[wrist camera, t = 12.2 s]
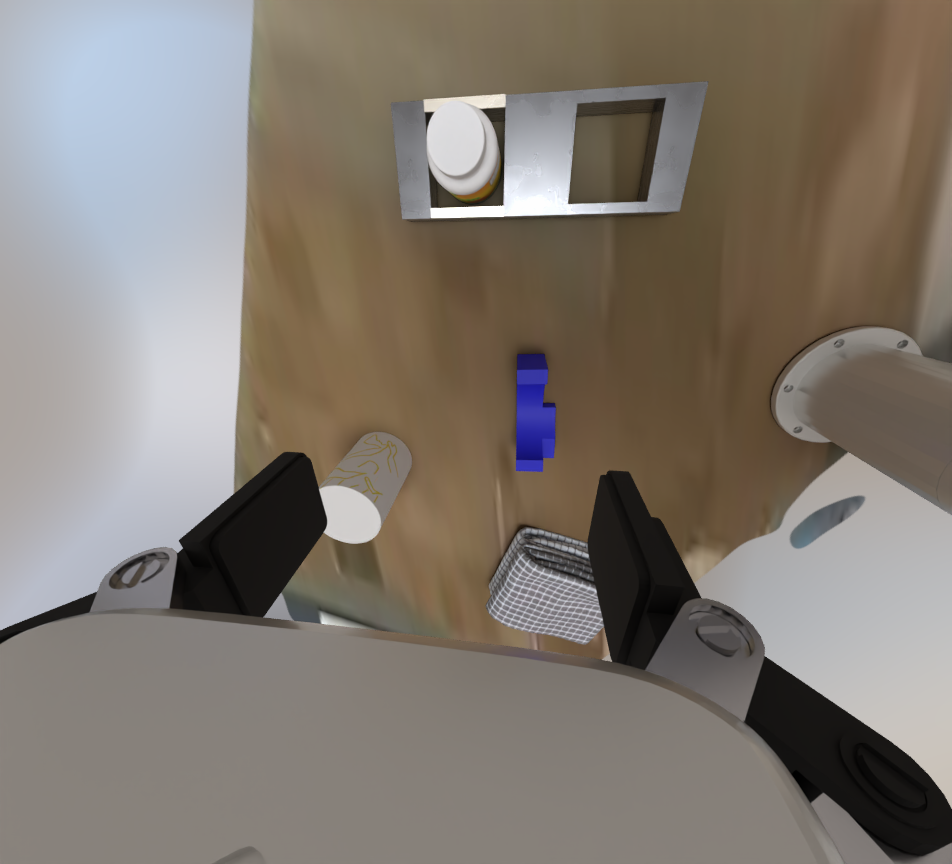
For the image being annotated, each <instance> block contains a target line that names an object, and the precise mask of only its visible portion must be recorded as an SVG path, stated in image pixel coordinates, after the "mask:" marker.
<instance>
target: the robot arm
mask: <svg viewBox="0 0 952 864" xmlns="http://www.w3.org/2000/svg"><path fill="white" fill-rule="evenodd" d="M771 410H772V414H773V417H774V419H775V420H776V422H777V424H778V425H779V426H780V427H781V428H782V429H783V430H784V431H786V432H787V433H789V434H790V435H792V436H794V437H796V438H799V439H801V440H805V441H810V442H822V443H825V442H833V443H835V444H836V445H838V446H840V447H841V448H843V449H845V450H846V451H848V452H849V453H851V454H853V455H854V456H856V457H858V458H859V459H861V460H862V461H864V462H866V463H867V464H869V465H871V466H872V467H874V468H876V469H877V470H879V471H880V472H882V473H884V474H885V475H887V476H889V477H890V478H892V479H893V480H895V481H897V482H898V483H900V484H902V485H904V486H905V487H907V488H908V489H910V490H912V491H913V492H915V493H916V494H918V495H920V496H921V497H923V498H924V499H926V500H928V501H930V502H931V503H933V504H934V505H936V506H938V507H939V508H941V509H942V510H944V511H946V512H947V513H949V514H951V515H952V364H951V363H947V362H944V361H940V360H936V359H932V358H928V357H924V356H923V355H922V352H921V350H920V347H919V346H918V344H917V343H916V342H915V341H914V340H913V339H912V338H911V337H909V336H908V335H906V334H905V333H903V332H900V331H897V330H894V329H890V328H884V327H879V326H861V327H855V328H849V329H846V330H842V331H839V332H836V333H833V334H831V335H829V336H827V337H824V338H822V339H820V340H818V341H817V342H815V343H814V344H812V345H810V346H809V347H807V348H806V349H805V350H803V351H802V352H801V353H800V354H798V355H797V356H796V357H795V358H794V359H793V360H792V361H791V362H790V363H789V364H788V365H787V366H786V368H785V369H784V371H783V372H782V373H781V375H780V376H779V378H778V380H777V382H776V384H775V386H774V389H773V393H772V397H771ZM326 527H327V516H326V513H325V509H324V505H323V502H322V498H321V495H320V491H319V487H318V484H317V480H316V477H315V473H314V469H313V466H312V462H311V460H310V458H308V457H307V456H306V455H305V454H304V453H298V452H284V453H282V454H281V455H280V456H279V457H277V458H276V459H275V460H274V461H273V462H271V463H270V464H269V465H268V466H267V467H266V468H264V469H263V470H262V471H261V472H260V473H258V474H257V475H256V476H255V477H254V478H252V479H251V480H250V481H249V482H248V483H246V484H245V485H244V486H243V487H242V488H241V489H239V490H238V491H237V492H236V493H235V494H233V495H232V496H231V497H230V498H229V499H227V500H226V501H225V502H224V503H223V504H221V505H220V506H219V507H218V508H217V509H216V510H214V511H213V512H212V513H211V514H210V515H209V516H207V517H206V518H205V519H204V520H203V521H201V522H200V523H199V524H198V525H197V526H195V527H194V528H193V529H192V530H191V531H190V532H188V533H187V534H186V535H185V536H183V537H182V538H181V539H180V540H179V542H180V544H181V545H182V547H183V549H182V550H181V551H180V552H179V553H177V552H176V551H175V550H173V549H172V548H167V547H161V548H154V549H150V550H146V551H144V552H141V553H138V554H136V555H134V556H132V557H130V558H128V559H126V560H124V561H123V562H121V563H120V564H118V565H117V566H116V567H114V568H113V569H112V570H111V571H110V572H109V573H108V574H107V575H106V576H105V577H104V579H103V580H102V582H101V584H100V586H99V589H98V591H97V592H95V593H93V594H90V595H88V596H85V597H83V598H80V599H78V600H75V601H72V602H70V603H68V604H65V605H62V606H60V607H57V608H55V609H52V610H50V611H47V612H45V613H42V614H40V615H37V616H34V617H32V618H29V619H27V620H24V621H22V622H19V623H17V624H14V625H12V626H9V627H7V628H5V629H3V630H0V864H952V809H951V807H950V805H949V803H948V801H947V799H946V798H945V796H944V794H943V793H942V791H941V790H940V789H939V788H938V786H937V785H936V784H935V782H934V781H933V780H932V778H931V777H930V776H929V775H928V774H927V773H926V772H925V771H924V770H923V769H922V768H921V767H920V766H919V765H918V764H917V763H916V762H915V761H914V760H913V759H912V758H911V757H910V756H909V755H907V754H906V753H905V752H903V751H902V750H901V749H899V748H898V747H897V746H896V745H894V744H893V743H892V742H890V741H889V740H887V739H886V738H885V737H883V736H882V735H880V734H878V733H877V732H876V731H874V730H873V729H871V728H870V727H868V726H867V725H865V724H864V723H862V722H861V721H860V720H858V719H856V718H855V717H854V716H852V715H851V714H849V713H848V712H846V711H845V710H843V709H842V708H840V707H839V706H837V705H836V704H835V703H833V702H831V701H830V700H828V699H827V698H826V697H824V696H823V695H821V694H820V693H818V692H817V691H815V690H814V689H812V688H811V687H809V686H808V685H806V684H805V683H803V682H802V681H801V680H799V679H798V678H796V677H795V676H793V675H792V674H790V673H789V672H787V671H786V670H784V669H783V668H781V667H780V666H779V665H777V664H776V663H774V662H773V661H771V660H770V659H768V658H767V657H765V656H764V654H765V647H764V644H763V641H762V639H761V636H760V635H759V633H758V632H757V631H756V629H755V628H754V626H753V625H752V624H751V623H750V622H749V621H748V620H747V619H746V618H745V617H743V616H742V615H741V614H739V613H738V612H737V611H735V610H734V609H732V608H731V607H729V606H727V605H724V604H722V603H720V602H717V601H714V600H710V599H702V598H701V596H700V594H699V592H698V590H697V588H696V586H695V584H694V583H693V581H692V579H691V577H690V575H689V573H688V571H687V569H686V567H685V565H684V563H683V561H682V559H681V557H680V555H679V553H678V552H677V550H676V548H675V546H674V544H673V542H672V540H671V538H670V536H669V534H668V532H667V530H666V528H665V526H664V524H663V523H662V521H661V520H660V519H659V518H655V517H651V516H650V514H649V512H648V510H647V508H646V506H645V503H644V501H643V499H642V497H641V495H640V493H639V491H638V489H637V487H636V485H635V483H634V481H633V479H632V477H631V475H630V473H629V472H626V471H608V472H607V474H606V475H601V476H600V480H599V485H598V490H597V495H596V500H595V505H594V511H593V516H592V521H591V526H590V531H589V536H588V544H587V547H588V555H589V559H590V564H591V568H592V573H593V578H594V582H595V587H596V591H597V596H598V601H599V605H600V610H601V614H602V619H603V624H604V628H605V633H606V637H607V642H608V647H609V651H610V656H611V659H612V662H609V661H604V660H599V659H593V658H588V657H583V656H575V655H568V654H561V653H554V652H547V651H540V650H532V649H525V648H518V647H510V646H502V645H494V644H485V643H477V642H469V641H461V640H453V639H444V638H436V637H428V636H420V635H411V634H403V633H394V632H386V631H377V630H369V629H360V628H351V627H343V626H334V625H325V624H317V623H308V622H299V621H289V620H281V619H271V618H263V617H264V616H265V614H266V613H267V611H268V610H269V609H270V607H271V606H272V604H273V603H274V601H275V600H276V599H277V597H278V596H279V594H280V593H281V592H282V590H283V589H284V587H285V586H286V585H287V583H288V582H289V580H290V579H291V578H292V576H293V575H294V573H295V572H296V571H297V569H298V568H299V566H300V565H301V563H302V562H303V561H304V559H305V558H306V556H307V555H308V554H309V552H310V551H311V549H312V548H313V547H314V545H315V544H316V542H317V541H318V539H319V538H320V537H321V535H322V534H323V532H324V531H325V529H326Z"/></svg>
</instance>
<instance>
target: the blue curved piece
mask: <svg viewBox="0 0 952 864" xmlns="http://www.w3.org/2000/svg"><path fill="white" fill-rule="evenodd" d="M547 379H548V367H547V363H546V359H545V355H544V354H518V356H517V444H516V471H537V472H543V458H554V447H555V411H556V407H555V403H543V395H544V386H545V384H547Z"/></svg>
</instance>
